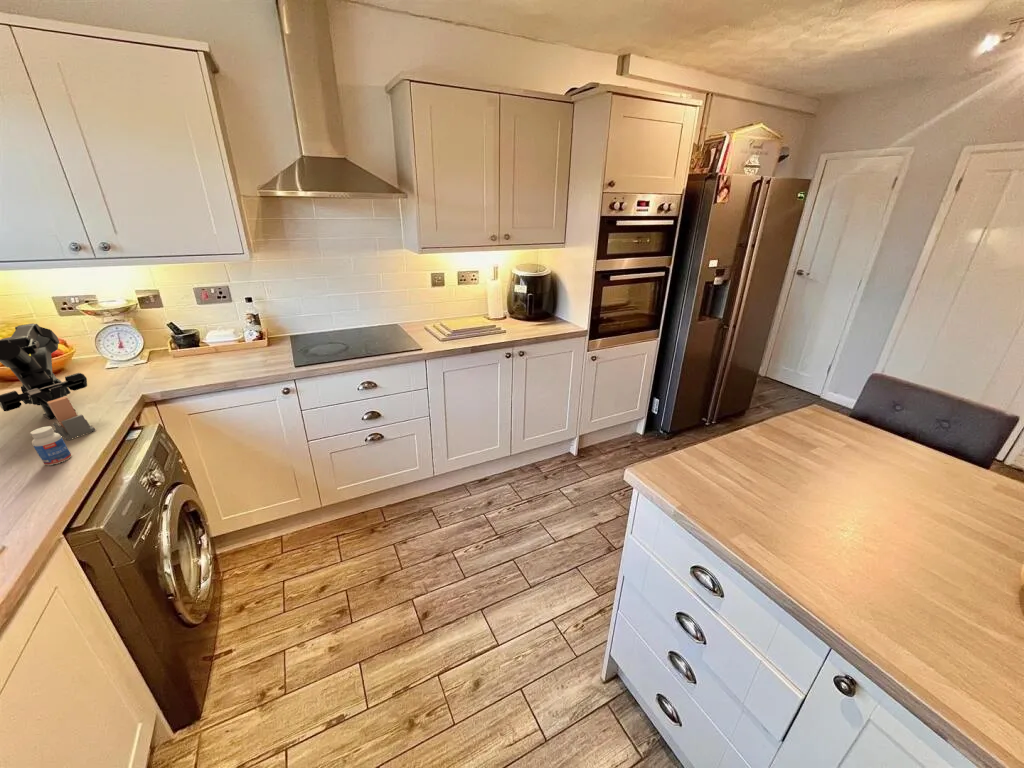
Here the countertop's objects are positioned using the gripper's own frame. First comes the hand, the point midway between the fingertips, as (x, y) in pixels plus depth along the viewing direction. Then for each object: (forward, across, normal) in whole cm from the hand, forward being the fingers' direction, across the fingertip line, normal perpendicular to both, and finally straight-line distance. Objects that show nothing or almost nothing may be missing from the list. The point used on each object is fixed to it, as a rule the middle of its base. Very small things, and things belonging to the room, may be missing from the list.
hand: (62, 412), depth 124 cm
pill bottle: (+17, +8, +8) cm, 21 cm away
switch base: (+6, 0, -3) cm, 7 cm away
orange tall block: (+5, 0, -3) cm, 6 cm away
